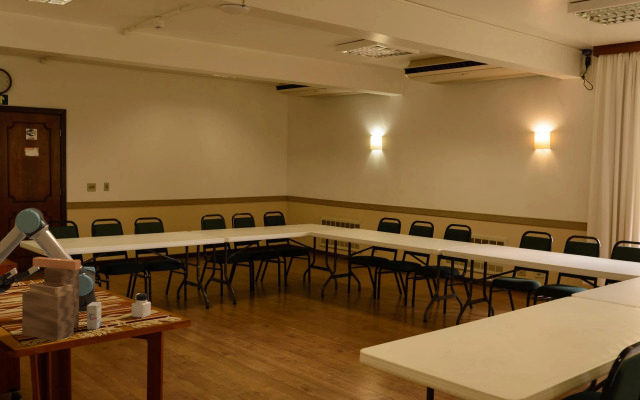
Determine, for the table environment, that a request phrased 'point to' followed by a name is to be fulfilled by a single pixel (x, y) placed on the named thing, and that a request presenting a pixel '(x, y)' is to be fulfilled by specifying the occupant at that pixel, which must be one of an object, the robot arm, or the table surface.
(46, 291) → the brown stepped wooden block
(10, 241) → the robot arm
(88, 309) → the ink box
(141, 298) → the medicine bottle
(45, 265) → the block
